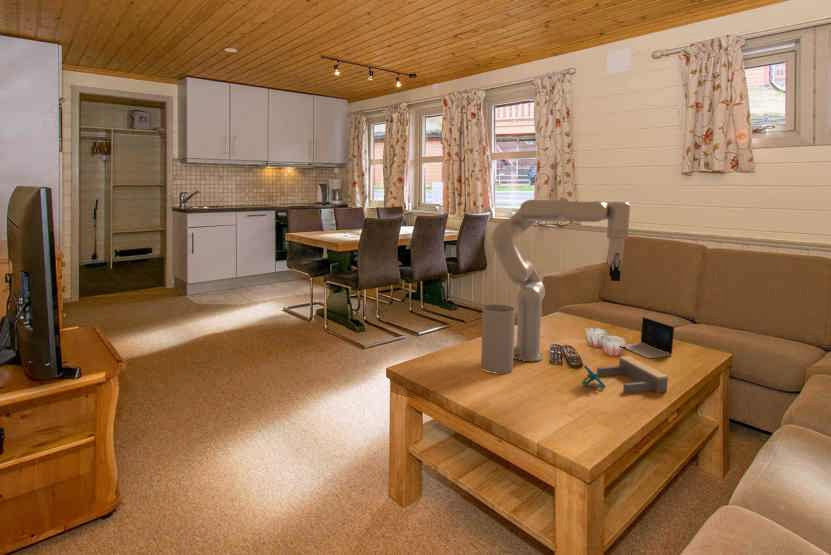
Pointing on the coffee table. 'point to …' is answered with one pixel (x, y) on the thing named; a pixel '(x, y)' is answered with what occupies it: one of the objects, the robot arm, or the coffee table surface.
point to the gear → (591, 377)
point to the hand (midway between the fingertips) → (614, 278)
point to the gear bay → (637, 375)
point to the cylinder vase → (498, 338)
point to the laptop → (654, 340)
